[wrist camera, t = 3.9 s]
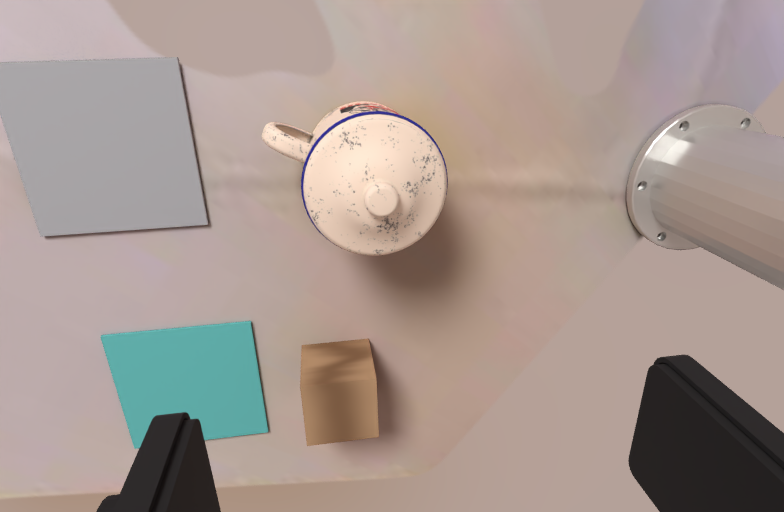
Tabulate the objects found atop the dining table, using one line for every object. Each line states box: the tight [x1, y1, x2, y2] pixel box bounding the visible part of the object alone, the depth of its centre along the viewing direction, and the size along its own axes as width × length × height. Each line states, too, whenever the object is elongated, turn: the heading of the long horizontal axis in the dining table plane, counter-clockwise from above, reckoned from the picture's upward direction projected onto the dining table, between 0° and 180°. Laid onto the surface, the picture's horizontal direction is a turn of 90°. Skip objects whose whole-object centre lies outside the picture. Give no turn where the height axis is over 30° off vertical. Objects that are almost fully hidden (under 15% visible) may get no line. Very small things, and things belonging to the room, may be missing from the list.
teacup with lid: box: [262, 101, 448, 256], centre depth 32 cm, size 12×9×12 cm
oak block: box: [300, 339, 379, 446], centre depth 43 cm, size 6×6×6 cm
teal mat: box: [101, 321, 268, 449], centre depth 44 cm, size 12×12×1 cm
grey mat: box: [0, 57, 209, 236], centre depth 35 cm, size 12×12×1 cm
